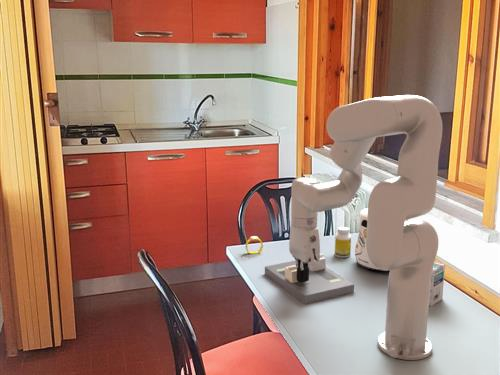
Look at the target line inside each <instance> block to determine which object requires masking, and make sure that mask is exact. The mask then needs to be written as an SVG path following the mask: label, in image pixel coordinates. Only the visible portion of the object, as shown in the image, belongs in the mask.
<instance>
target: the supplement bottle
mask: <svg viewBox="0 0 500 375" xmlns="http://www.w3.org/2000/svg"><path fill="white" fill-rule="evenodd" d="M350 230H351V229H350V227H347V226H339V227H337V233H336V234H335V237H334V238H335V240H334V256H335V257H337V258H342V259H345V258H349V257H350V256H351V247H352V246H351V245H352V236H351V234H350Z"/></svg>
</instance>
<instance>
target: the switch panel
mask: <svg viewBox="0 0 500 375" xmlns="http://www.w3.org/2000/svg"><path fill="white" fill-rule="evenodd" d="M293 265H296V260H291V261H286V262H281V263H276V264H271V265H265V266H264V275H266V276H267V277H268V278H269V279H271V280H272V281H273V282H275V283H276V284H278V285H279V286H281V288H283V289H284V290H286V291H287V292H289V293H290V294H291V295H292V296H293V297H295V298H296V299H298V300H299V301H300V302H302V303H303V304H305V305H306V304H310V303H313V302H319V301H323V300H327V299H331V298H335V297H340V296H343V295H344V296H345V295H349V294H352V293H354V292H355V283H353V282H351V281H349V280H348V279H346V278H344V277H343V276H341V275H339V274H338V273H336V272H334V271H333V270H331V269H330V268H329V267H326V269H322V270H318V271H313V272H312V271H310V270H309V280H308V281H306V282H301V283H300V282H294V283H291V282H290V281H288V280H287V279H285V267H288V266H293Z"/></svg>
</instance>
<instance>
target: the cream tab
mask: <svg viewBox="0 0 500 375" xmlns="http://www.w3.org/2000/svg"><path fill="white" fill-rule="evenodd" d="M285 279H287V280H288V281H290V282H291V283H294V282H299V281H297V267H296V265H293V266H288V267H285Z"/></svg>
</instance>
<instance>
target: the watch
mask: <svg viewBox="0 0 500 375" xmlns="http://www.w3.org/2000/svg"><path fill="white" fill-rule="evenodd" d="M251 241H259V242H260V247H259V249H258V250H257V251H250V250H248V245H249V243H250V242H251ZM263 248H264V244H263V241H262V240H261V239H260V238H259V237H258V236H257V235H253V236H250V237H249V238H248V240H246V242H245V249H246V251H247V253H249V254H250V255H253V254H254V255H255V254H260V253H261V252H262V251H263Z"/></svg>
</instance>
